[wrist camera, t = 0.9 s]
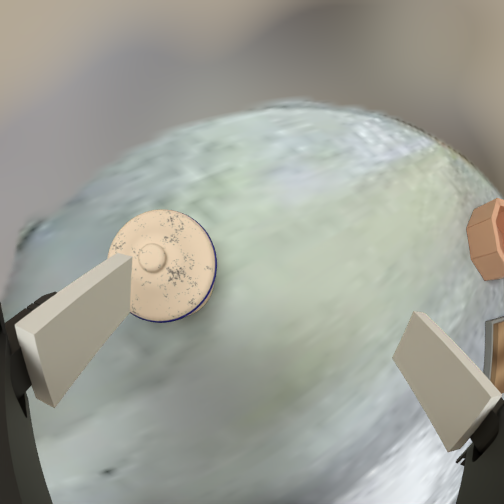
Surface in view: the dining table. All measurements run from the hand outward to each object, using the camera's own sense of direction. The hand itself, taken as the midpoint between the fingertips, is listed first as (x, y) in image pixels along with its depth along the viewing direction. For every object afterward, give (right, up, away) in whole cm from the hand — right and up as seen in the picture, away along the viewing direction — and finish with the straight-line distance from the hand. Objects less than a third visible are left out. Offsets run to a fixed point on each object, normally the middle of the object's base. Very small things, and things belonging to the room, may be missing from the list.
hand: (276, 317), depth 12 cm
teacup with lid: (-11, 0, +18) cm, 21 cm away
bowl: (+40, +4, +25) cm, 47 cm away
